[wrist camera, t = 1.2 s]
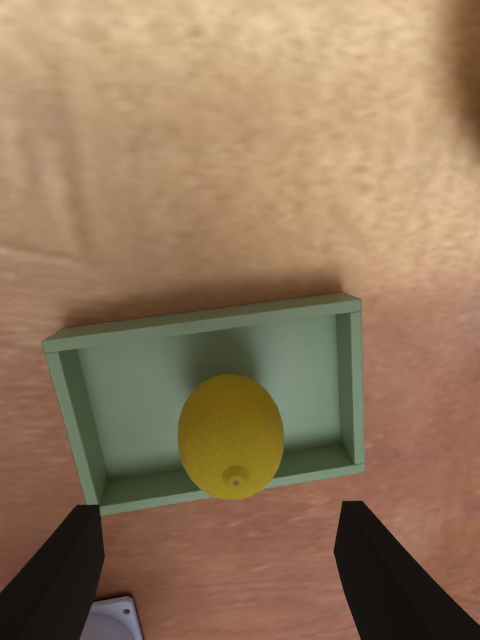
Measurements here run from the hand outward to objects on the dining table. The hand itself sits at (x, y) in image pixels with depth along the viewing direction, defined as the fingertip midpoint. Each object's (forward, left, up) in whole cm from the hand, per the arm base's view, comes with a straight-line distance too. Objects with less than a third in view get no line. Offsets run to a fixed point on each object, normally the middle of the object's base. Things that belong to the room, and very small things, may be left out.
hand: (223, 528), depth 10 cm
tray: (-1, 0, -12) cm, 12 cm away
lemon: (-1, -1, -12) cm, 12 cm away
